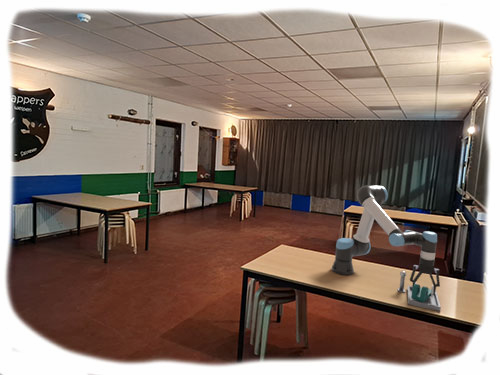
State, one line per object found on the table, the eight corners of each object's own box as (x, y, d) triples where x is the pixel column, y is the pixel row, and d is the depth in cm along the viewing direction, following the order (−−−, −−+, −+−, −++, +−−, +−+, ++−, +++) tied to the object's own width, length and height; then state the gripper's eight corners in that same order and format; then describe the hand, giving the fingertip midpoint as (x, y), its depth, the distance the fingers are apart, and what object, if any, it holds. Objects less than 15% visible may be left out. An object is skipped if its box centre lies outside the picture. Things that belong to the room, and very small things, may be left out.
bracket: (423, 302, 186) (425, 289, 185) (411, 298, 190) (412, 285, 189) (433, 293, 198) (435, 281, 198) (421, 289, 203) (423, 277, 202)
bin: (408, 304, 187) (408, 300, 187) (407, 289, 209) (407, 285, 209) (440, 311, 181) (440, 307, 181) (435, 294, 203) (436, 291, 202)
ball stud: (397, 291, 205) (399, 271, 204) (397, 289, 209) (399, 269, 207) (404, 292, 203) (407, 273, 202) (404, 290, 207) (406, 270, 206)
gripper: (447, 259, 191) (442, 296, 194) (407, 253, 200) (403, 288, 202) (449, 263, 184) (444, 301, 187) (407, 256, 193) (403, 293, 196)
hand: (423, 294), depth 195 cm, fingers closed on bracket, 8 cm apart
